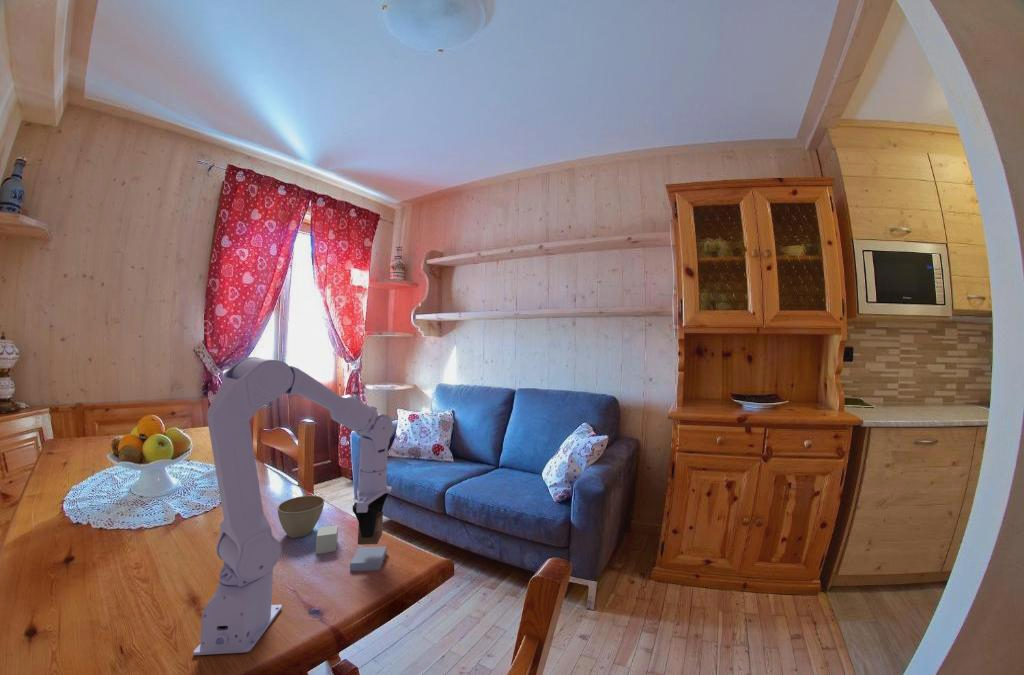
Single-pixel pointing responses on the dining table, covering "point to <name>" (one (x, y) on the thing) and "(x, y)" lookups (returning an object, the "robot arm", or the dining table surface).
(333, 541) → the sage block
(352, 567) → the slate slab
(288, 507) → the flower pot
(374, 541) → the walnut block
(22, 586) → the dining table surface
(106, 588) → the dining table surface
